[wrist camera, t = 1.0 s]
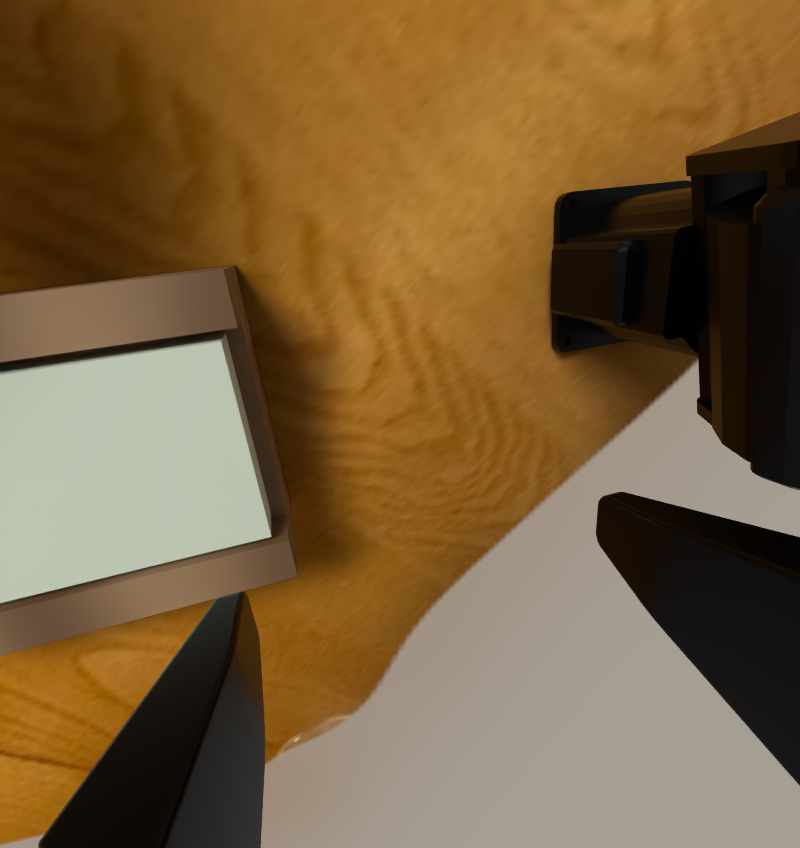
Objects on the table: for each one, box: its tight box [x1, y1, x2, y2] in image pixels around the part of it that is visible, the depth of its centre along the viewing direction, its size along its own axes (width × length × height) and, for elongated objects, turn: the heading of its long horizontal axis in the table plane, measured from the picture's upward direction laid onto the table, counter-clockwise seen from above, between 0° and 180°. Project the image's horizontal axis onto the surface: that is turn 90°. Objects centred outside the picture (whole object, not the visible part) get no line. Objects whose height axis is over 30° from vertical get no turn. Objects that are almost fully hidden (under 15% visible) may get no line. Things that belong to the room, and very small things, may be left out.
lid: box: [0, 333, 271, 603], centre depth 12 cm, size 13×6×2 cm, turn 96°
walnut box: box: [0, 265, 298, 656], centre depth 14 cm, size 14×10×5 cm
